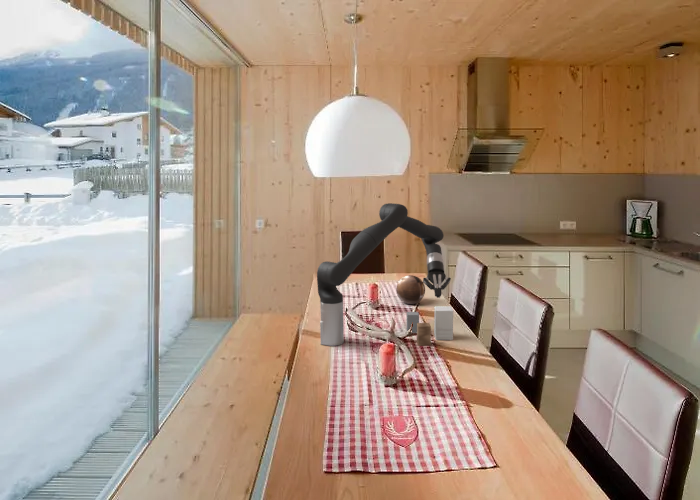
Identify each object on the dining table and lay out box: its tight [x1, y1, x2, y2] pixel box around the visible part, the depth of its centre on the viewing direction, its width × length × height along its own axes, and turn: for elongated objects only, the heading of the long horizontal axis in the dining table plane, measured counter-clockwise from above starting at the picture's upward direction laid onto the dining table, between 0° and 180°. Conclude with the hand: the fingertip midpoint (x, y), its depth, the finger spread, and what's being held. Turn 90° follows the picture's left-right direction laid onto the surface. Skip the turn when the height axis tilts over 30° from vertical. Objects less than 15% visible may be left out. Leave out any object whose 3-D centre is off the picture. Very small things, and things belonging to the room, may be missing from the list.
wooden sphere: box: [395, 274, 426, 305], centre depth 277 cm, size 15×15×15 cm
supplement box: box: [433, 305, 454, 341], centre depth 220 cm, size 7×7×13 cm
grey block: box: [406, 311, 420, 334], centre depth 230 cm, size 5×5×8 cm
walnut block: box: [416, 322, 432, 347], centre depth 213 cm, size 5×5×8 cm
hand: (438, 296), depth 235 cm, fingers closed
